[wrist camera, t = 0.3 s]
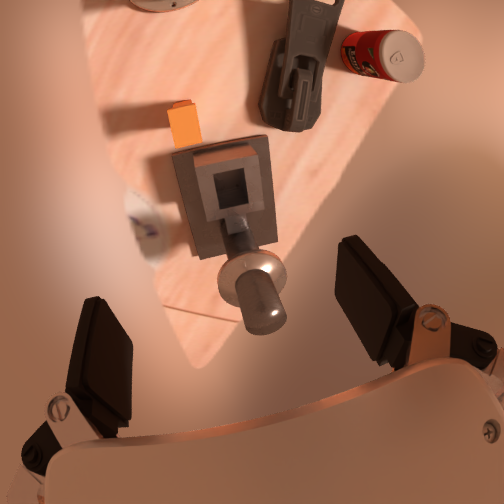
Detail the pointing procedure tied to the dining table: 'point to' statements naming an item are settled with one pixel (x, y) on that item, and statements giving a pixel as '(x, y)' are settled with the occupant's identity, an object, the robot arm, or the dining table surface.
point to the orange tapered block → (184, 124)
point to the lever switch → (236, 224)
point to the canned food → (384, 55)
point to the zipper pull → (299, 66)
